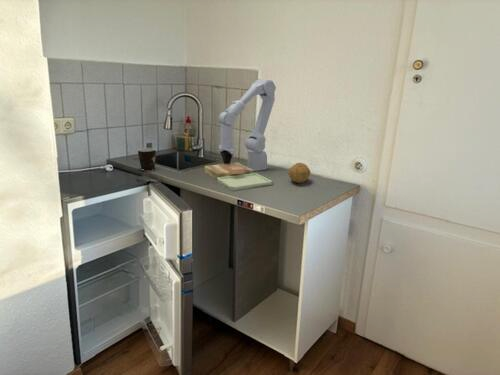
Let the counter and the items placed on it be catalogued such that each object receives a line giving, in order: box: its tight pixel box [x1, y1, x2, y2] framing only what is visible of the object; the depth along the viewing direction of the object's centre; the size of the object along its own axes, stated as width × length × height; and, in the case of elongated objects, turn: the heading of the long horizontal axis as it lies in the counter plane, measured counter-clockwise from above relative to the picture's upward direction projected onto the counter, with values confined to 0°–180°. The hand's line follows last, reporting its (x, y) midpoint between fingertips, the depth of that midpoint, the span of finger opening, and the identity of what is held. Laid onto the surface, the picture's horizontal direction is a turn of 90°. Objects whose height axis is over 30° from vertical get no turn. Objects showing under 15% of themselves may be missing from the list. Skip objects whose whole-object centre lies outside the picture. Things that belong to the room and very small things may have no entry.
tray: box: [216, 172, 274, 192], centre depth 170 cm, size 20×16×2 cm
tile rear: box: [221, 162, 239, 171], centre depth 182 cm, size 6×6×2 cm
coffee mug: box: [137, 147, 157, 171], centre depth 188 cm, size 12×9×10 cm
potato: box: [288, 162, 311, 184], centre depth 172 cm, size 10×14×8 cm
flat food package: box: [204, 162, 254, 180], centre depth 184 cm, size 18×16×3 cm
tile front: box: [227, 166, 245, 174], centre depth 176 cm, size 6×6×2 cm
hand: (226, 165), depth 185 cm, fingers closed
